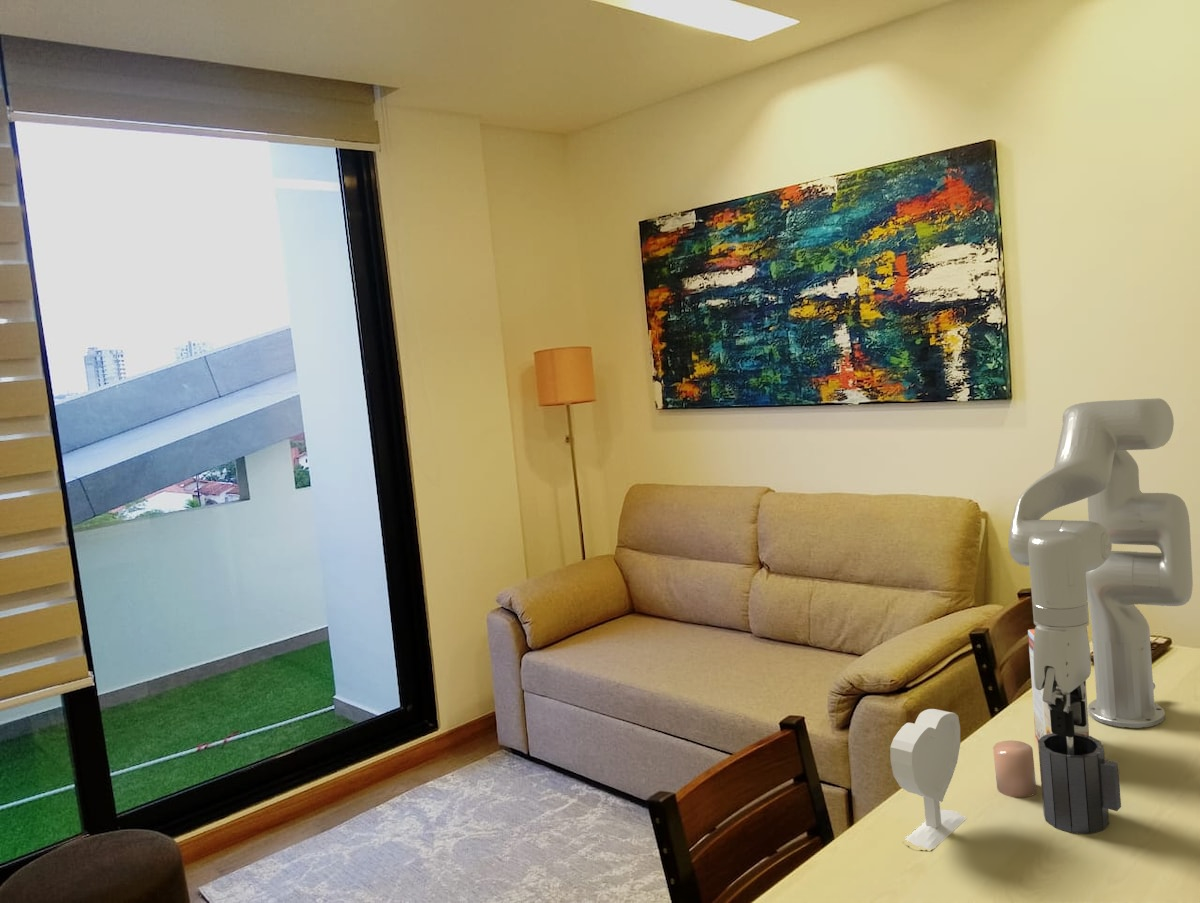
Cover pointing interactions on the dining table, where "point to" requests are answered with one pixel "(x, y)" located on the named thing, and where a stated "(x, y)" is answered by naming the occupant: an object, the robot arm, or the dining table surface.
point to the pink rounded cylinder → (1014, 768)
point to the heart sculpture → (928, 770)
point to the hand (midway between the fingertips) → (1069, 728)
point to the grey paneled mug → (1077, 784)
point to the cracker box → (1041, 707)
